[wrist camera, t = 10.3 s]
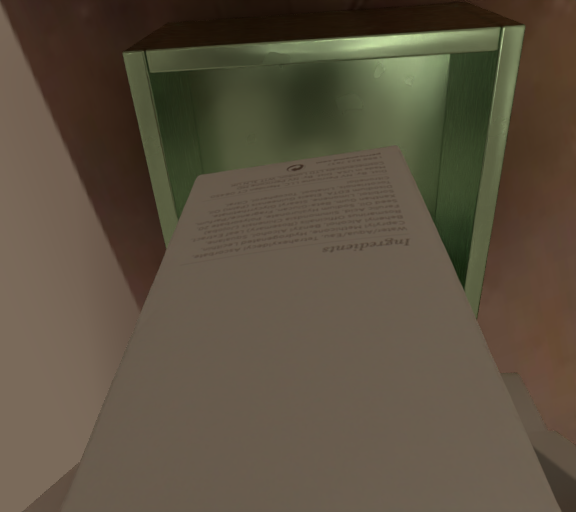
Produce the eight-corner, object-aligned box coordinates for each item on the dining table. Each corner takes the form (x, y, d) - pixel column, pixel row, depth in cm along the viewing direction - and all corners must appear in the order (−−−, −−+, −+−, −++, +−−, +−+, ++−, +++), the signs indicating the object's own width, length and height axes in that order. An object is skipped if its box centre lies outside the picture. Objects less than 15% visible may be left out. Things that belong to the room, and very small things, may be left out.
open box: (209, 269, 31) (187, 349, 25) (166, 22, 23) (120, 51, 17) (439, 259, 30) (474, 339, 24) (467, 1, 23) (526, 24, 17)
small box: (195, 168, 14) (2, 582, 5) (402, 138, 13) (596, 549, 4) (254, 377, 18) (204, 804, 9) (414, 361, 18) (525, 803, 9)
